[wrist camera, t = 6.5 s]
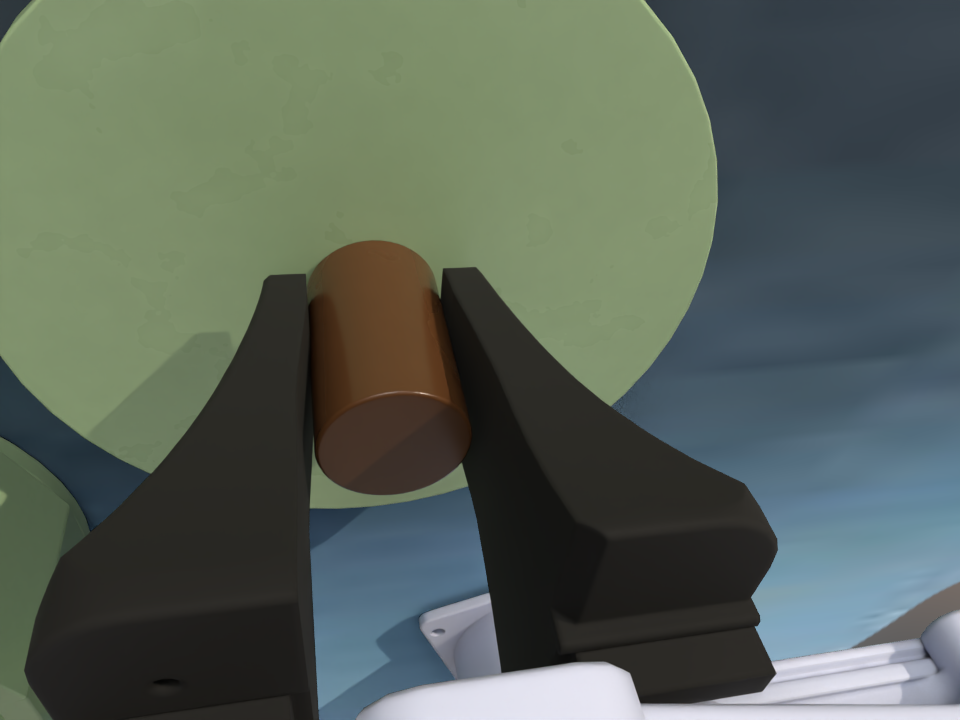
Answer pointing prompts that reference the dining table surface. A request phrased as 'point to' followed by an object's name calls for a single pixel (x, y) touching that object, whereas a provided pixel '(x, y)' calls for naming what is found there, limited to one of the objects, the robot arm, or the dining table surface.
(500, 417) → the robot arm
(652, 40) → the pot lid
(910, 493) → the dining table surface
